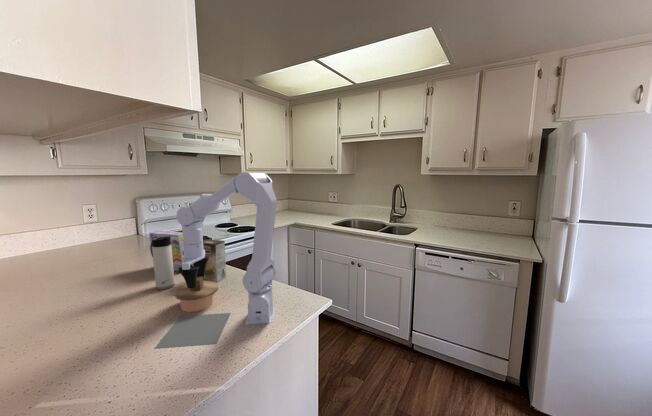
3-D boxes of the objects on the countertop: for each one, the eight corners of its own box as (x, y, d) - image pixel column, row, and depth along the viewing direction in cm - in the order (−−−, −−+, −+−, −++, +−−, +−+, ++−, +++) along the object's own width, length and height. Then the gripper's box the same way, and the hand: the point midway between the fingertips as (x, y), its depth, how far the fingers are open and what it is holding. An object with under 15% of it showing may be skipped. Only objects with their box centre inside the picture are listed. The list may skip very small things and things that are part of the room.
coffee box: (198, 280, 109) (195, 242, 107) (209, 274, 115) (206, 238, 113) (217, 282, 106) (214, 244, 104) (227, 276, 113) (225, 240, 110)
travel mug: (166, 290, 99) (162, 239, 97) (152, 289, 101) (146, 238, 98) (179, 283, 105) (175, 235, 103) (165, 282, 107) (160, 234, 104)
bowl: (208, 312, 84) (207, 297, 83) (175, 314, 83) (174, 299, 82) (217, 297, 94) (217, 284, 93) (188, 299, 93) (187, 285, 92)
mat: (216, 345, 67) (216, 343, 67) (154, 350, 66) (154, 348, 66) (231, 314, 82) (231, 312, 82) (180, 317, 81) (180, 316, 81)
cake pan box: (151, 268, 123) (147, 231, 121) (161, 264, 128) (157, 229, 125) (181, 273, 116) (178, 234, 114) (191, 269, 121) (188, 232, 119)
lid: (211, 299, 82) (210, 286, 81) (167, 301, 80) (166, 288, 80) (223, 282, 95) (222, 270, 94) (185, 283, 93) (184, 272, 93)
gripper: (189, 237, 92) (192, 274, 94) (169, 249, 78) (173, 293, 80) (210, 237, 93) (212, 274, 95) (194, 248, 79) (197, 292, 80)
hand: (196, 282), depth 87 cm, fingers open, 7 cm apart
